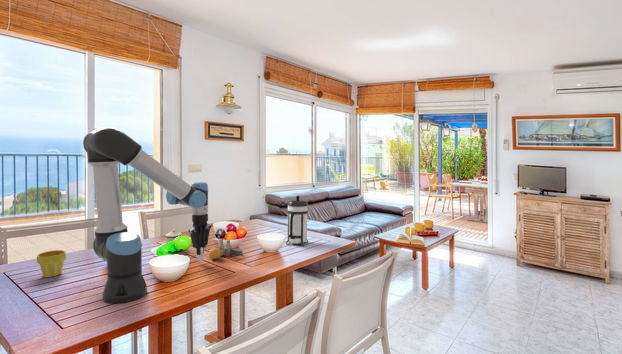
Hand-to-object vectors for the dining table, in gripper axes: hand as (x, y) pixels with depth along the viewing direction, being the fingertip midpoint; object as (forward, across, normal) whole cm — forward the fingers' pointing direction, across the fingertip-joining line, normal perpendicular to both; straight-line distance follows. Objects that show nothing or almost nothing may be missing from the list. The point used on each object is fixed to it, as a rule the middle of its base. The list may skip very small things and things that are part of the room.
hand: (200, 260), depth 169 cm
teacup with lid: (+2, +11, +32) cm, 34 cm away
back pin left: (+2, +17, +2) cm, 18 cm away
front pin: (+1, +14, 0) cm, 14 cm away
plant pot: (+2, -43, +46) cm, 63 cm away
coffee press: (+2, +57, -23) cm, 62 cm away
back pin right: (+2, +17, -2) cm, 18 cm away
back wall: (+2, +22, 0) cm, 22 cm away
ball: (-1, +10, 0) cm, 10 cm away
